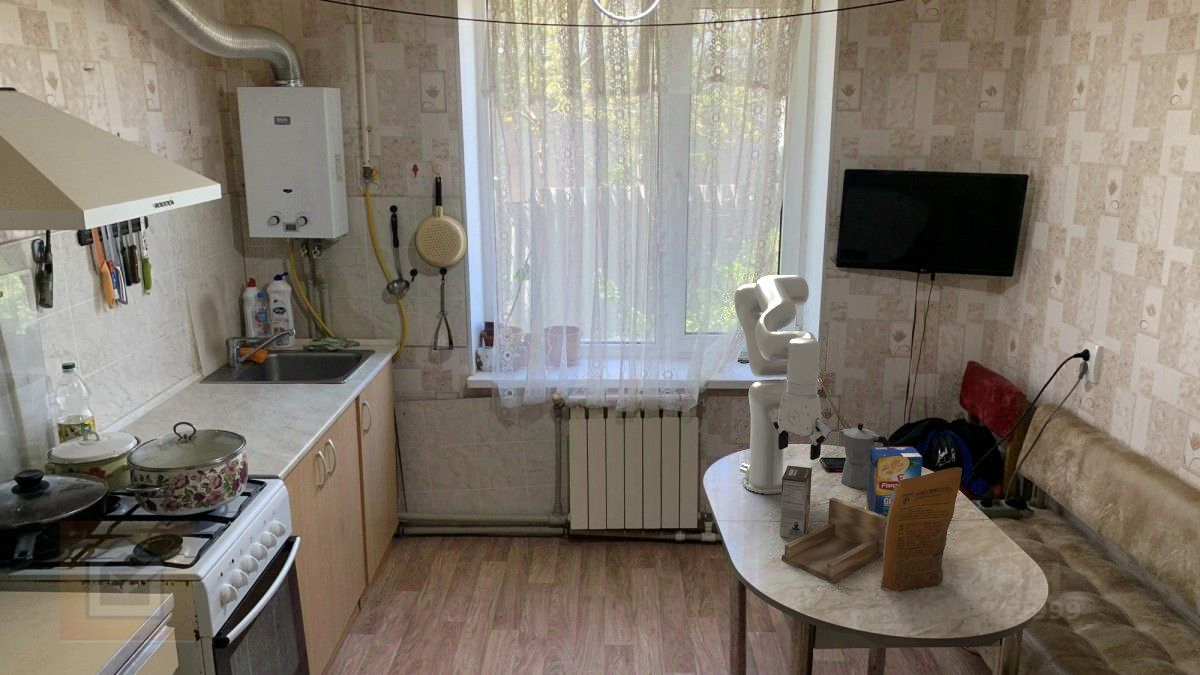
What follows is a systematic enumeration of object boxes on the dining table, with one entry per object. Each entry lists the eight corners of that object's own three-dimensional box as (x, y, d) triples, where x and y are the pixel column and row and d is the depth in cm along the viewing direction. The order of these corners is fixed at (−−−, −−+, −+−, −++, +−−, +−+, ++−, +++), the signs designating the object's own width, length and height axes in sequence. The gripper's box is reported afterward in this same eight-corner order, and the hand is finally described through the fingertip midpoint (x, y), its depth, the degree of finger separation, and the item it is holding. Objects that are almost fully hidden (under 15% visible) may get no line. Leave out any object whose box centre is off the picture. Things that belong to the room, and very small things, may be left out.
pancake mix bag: (960, 586, 203) (972, 470, 196) (886, 598, 198) (896, 480, 191) (941, 572, 209) (952, 459, 202) (869, 583, 204) (878, 469, 197)
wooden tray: (781, 559, 215) (783, 520, 213) (830, 534, 228) (832, 497, 226) (834, 583, 204) (837, 542, 202) (883, 555, 217) (886, 516, 215)
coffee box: (784, 521, 236) (787, 464, 232) (809, 525, 234) (812, 467, 230) (779, 536, 227) (781, 477, 223) (804, 540, 225) (807, 480, 221)
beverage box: (916, 538, 226) (923, 456, 220) (872, 539, 225) (878, 457, 220) (906, 526, 232) (913, 446, 227) (864, 527, 232) (869, 447, 227)
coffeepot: (828, 481, 261) (831, 423, 256) (841, 471, 268) (845, 414, 264) (879, 495, 251) (884, 434, 247) (892, 484, 259) (896, 425, 254)
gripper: (764, 383, 225) (761, 448, 229) (822, 398, 212) (818, 466, 216) (782, 378, 230) (780, 441, 234) (840, 392, 217) (836, 459, 221)
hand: (798, 453), depth 225 cm, fingers open, 9 cm apart
